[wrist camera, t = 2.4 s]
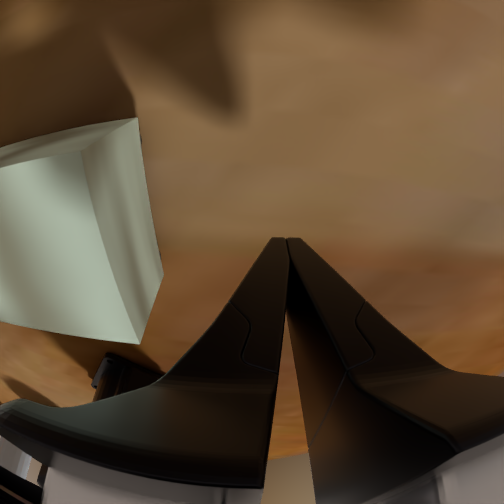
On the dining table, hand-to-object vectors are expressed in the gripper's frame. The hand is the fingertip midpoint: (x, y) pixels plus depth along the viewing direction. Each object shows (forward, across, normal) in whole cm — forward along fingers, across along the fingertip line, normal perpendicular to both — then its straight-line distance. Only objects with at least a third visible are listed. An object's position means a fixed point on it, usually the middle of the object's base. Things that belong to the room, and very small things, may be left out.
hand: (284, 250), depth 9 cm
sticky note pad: (+4, +10, 0) cm, 10 cm away
